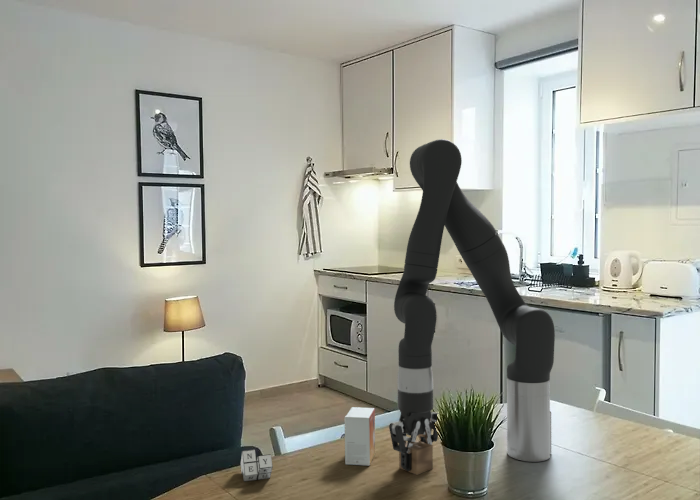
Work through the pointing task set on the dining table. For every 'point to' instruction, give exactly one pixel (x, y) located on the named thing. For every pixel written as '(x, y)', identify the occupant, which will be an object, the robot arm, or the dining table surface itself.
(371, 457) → the small box
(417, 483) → the dining table surface
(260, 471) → the building blocks
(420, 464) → the walnut cube
